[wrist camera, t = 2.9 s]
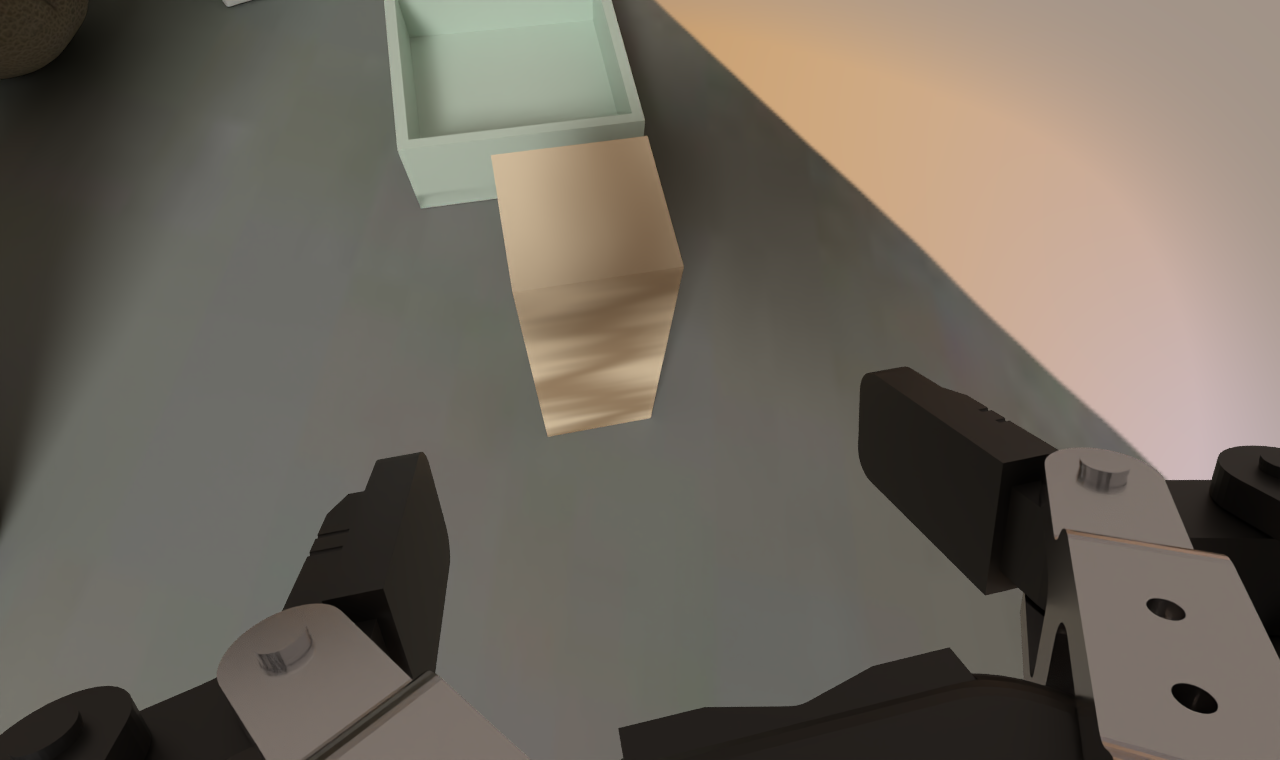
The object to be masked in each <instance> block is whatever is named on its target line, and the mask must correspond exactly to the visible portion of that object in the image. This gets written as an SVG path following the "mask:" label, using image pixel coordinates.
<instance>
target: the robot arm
mask: <svg viewBox="0 0 1280 760" xmlns="http://www.w3.org/2000/svg"><path fill="white" fill-rule="evenodd" d="M858 452H859V459H860V462H861V466H862V468H863V471H864V473H865V474H866V476H867V478H868V479H869V480H870V481H871V482H872V483H873V484H874V485H875V486H876V487H877V488H878V489H879V490H880V491H881V492H882V493H883V494H884V495H885V496H886V497H887V498H888V499H889V500H890V501H891V502H892V503H893V504H894V505H895V506H896V507H897V508H898V509H899V510H900V511H901V512H902V513H903V514H904V515H905V516H906V517H907V518H908V519H909V520H910V521H911V522H912V523H913V524H914V525H915V526H916V527H917V528H918V529H919V530H920V531H921V532H922V533H923V534H924V535H925V536H926V537H927V538H928V539H929V540H930V541H931V542H932V543H933V544H934V545H935V546H936V547H937V548H938V549H939V550H940V551H941V552H942V553H943V554H944V555H945V556H946V557H947V558H948V559H949V560H950V561H951V562H952V563H953V564H954V565H955V566H956V567H957V568H958V569H959V570H960V571H961V572H962V573H963V574H964V575H965V576H966V577H967V578H968V579H969V580H970V581H971V582H972V583H973V584H974V585H975V586H976V587H977V588H978V589H979V590H980V591H981V592H982V593H983V594H984V595H989V594H993V593H997V592H1002V591H1006V590H1010V589H1014V588H1019V589H1020V590H1021V591H1023V597H1022V603H1021V610H1020V617H1021V637H1022V656H1023V675H1024V680H1022V679H1017V678H1012V677H1006V676H1000V675H989V674H971V673H970V671H969V670H968V669H967V668H966V667H965V665H964V664H963V663H962V662H961V661H960V659H959V658H958V657H957V656H956V655H955V653H954V652H953V651H952V650H951V649H950V647H949V648H945V649H941V650H937V651H933V652H929V653H925V654H921V655H917V656H913V657H908V658H904V659H900V660H896V661H892V662H888V663H884V664H880V665H876V666H872V667H870V668H868V669H867V670H865V671H863V672H861V673H859V674H858V675H856V676H854V677H852V678H850V679H848V680H847V681H845V682H843V683H841V684H839V685H838V686H836V687H834V688H832V689H830V690H828V691H827V692H825V693H823V694H821V695H819V696H818V697H816V698H814V699H812V700H810V701H808V702H806V703H804V704H801V705H797V706H781V707H704V708H700V709H696V710H691V711H687V712H683V713H679V714H675V715H671V716H667V717H663V718H659V719H655V720H651V721H646V722H642V723H638V724H634V725H630V726H626V727H622V728H618V729H619V735H620V741H621V747H622V753H623V759H621V760H1280V448H1276V447H1267V446H1239V447H1233V448H1229V449H1227V450H1224V451H1223V452H1221V453H1220V454H1219V457H1218V459H1217V463H1216V467H1215V470H1214V473H1213V477H1212V480H1165V479H1164V478H1163V476H1162V475H1161V474H1160V473H1159V472H1158V471H1157V470H1156V469H1154V468H1153V467H1152V466H1150V465H1148V464H1146V463H1145V462H1143V461H1141V460H1138V459H1136V458H1133V457H1131V456H1128V455H1125V454H1121V453H1118V452H1114V451H1109V450H1103V449H1097V448H1068V449H1062V450H1058V449H1056V448H1054V447H1052V446H1051V445H1049V444H1047V443H1046V442H1044V441H1042V440H1041V439H1039V438H1037V437H1036V436H1034V435H1032V434H1031V433H1029V432H1027V431H1026V430H1024V429H1022V428H1021V427H1019V426H1017V425H1016V424H1014V423H1012V422H1011V421H1005V418H1004V417H1002V416H1001V415H999V414H997V413H996V412H994V411H992V410H990V411H988V408H987V407H986V406H984V405H982V404H981V403H979V402H977V401H976V400H974V399H972V398H971V397H969V396H967V395H965V394H961V393H958V392H955V391H952V390H949V389H946V388H942V387H940V386H939V385H937V384H936V383H934V382H932V381H931V380H929V379H927V378H926V377H924V376H922V375H921V374H919V373H918V372H916V371H914V370H913V369H911V368H909V367H899V368H893V369H888V370H882V371H877V372H871V373H867V374H865V375H864V377H863V378H862V381H861V385H860V407H859V437H858ZM449 566H450V548H449V539H448V533H447V529H446V525H445V521H444V517H443V513H442V510H441V506H440V502H439V499H438V495H437V491H436V488H435V484H434V480H433V476H432V473H431V469H430V466H429V462H428V460H427V457H426V455H425V454H424V453H423V452H419V453H413V454H408V455H402V456H396V457H391V458H385V459H380V460H377V461H376V463H375V466H374V468H373V471H372V473H371V476H370V478H369V481H368V484H367V486H366V489H365V491H362V492H357V493H352V494H348V495H347V496H346V497H345V498H344V499H343V500H342V501H341V502H340V503H338V504H337V505H336V506H335V507H334V508H333V509H332V510H331V511H330V512H329V513H328V514H327V516H326V518H325V520H324V522H323V524H322V526H321V528H320V531H319V533H318V539H315V541H314V544H313V546H312V548H311V550H310V556H308V557H307V559H306V561H305V563H304V565H303V567H302V569H301V571H300V574H299V576H298V578H297V580H296V582H295V584H294V587H293V589H292V591H291V593H290V595H289V597H288V599H287V602H286V604H285V606H284V608H283V610H282V611H281V612H279V613H276V614H274V615H272V616H270V617H268V618H266V619H264V620H262V621H261V622H259V623H258V624H256V625H254V626H253V627H252V628H250V629H249V630H248V631H246V632H245V633H244V634H242V635H241V636H240V637H239V638H238V639H237V640H236V641H235V642H234V643H233V644H232V645H231V646H230V647H229V649H228V650H227V651H226V653H225V654H224V656H223V657H222V659H221V661H220V663H219V666H218V670H217V677H216V678H215V679H213V680H211V681H208V682H206V683H204V684H202V685H200V686H198V687H195V688H193V689H190V690H188V691H186V692H183V693H181V694H179V695H176V696H174V697H172V698H169V699H167V700H165V701H162V702H160V703H158V704H155V705H153V706H151V707H148V708H146V709H144V710H141V711H139V710H138V708H137V706H136V705H135V703H134V701H133V700H132V698H131V696H130V694H129V693H128V692H127V691H126V690H124V689H122V688H119V687H114V686H101V687H94V688H89V689H85V690H82V691H78V692H75V693H72V694H70V695H67V696H65V697H62V698H60V699H58V700H55V701H53V702H51V703H49V704H47V705H45V706H43V707H42V708H40V709H38V710H36V711H34V712H33V713H31V714H29V715H28V716H26V717H25V718H23V719H22V720H20V721H19V722H17V723H16V724H14V725H13V726H12V727H10V728H9V729H7V730H6V731H5V732H4V733H3V734H1V735H0V760H531V759H530V758H529V757H527V756H526V755H525V754H524V753H523V752H522V751H521V750H520V749H519V748H518V747H516V746H515V745H514V744H513V743H512V742H511V741H510V740H509V739H508V738H507V737H506V736H504V735H503V734H502V733H501V732H500V731H499V730H498V729H497V728H496V727H495V726H493V725H492V724H491V723H490V722H489V721H488V720H487V719H486V718H485V717H484V716H483V715H481V714H480V713H479V712H478V711H477V710H476V709H475V708H474V707H473V706H472V705H470V704H469V703H468V702H467V701H466V700H465V699H464V698H463V697H462V696H461V695H460V694H458V693H457V692H456V691H455V690H454V689H453V688H452V687H451V686H450V685H449V684H447V683H446V682H445V681H444V680H443V679H442V678H441V677H440V676H438V675H437V674H435V669H436V662H437V654H438V647H439V640H440V632H441V625H442V617H443V610H444V603H445V595H446V588H447V580H448V573H449Z"/></svg>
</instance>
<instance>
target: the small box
mask: <svg viewBox="0 0 1280 760" xmlns="http://www.w3.org/2000/svg"><path fill="white" fill-rule="evenodd" d="M222 1H223V2H224V4H225V5H226V6H228V7H231V6H234V5H237V4H240V3H244V2H247V1H251V0H222Z"/></svg>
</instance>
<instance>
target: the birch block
mask: <svg viewBox="0 0 1280 760" xmlns="http://www.w3.org/2000/svg"><path fill="white" fill-rule="evenodd" d="M491 159H492V166H493V172H494V178H495V185H496V191H497V197H498V204H499V210H500V216H501V223H502V229H503V235H504V242H505V248H506V254H507V261H508V267H509V273H510V279H511V286H512V292H513V296H514V300H515V305H516V309H517V313H518V317H519V321H520V325H521V329H522V333H523V337H524V341H525V345H526V350H527V354H528V358H529V362H530V366H531V370H532V374H533V378H534V382H535V386H536V390H537V395H538V399H539V403H540V407H541V411H542V415H543V419H544V423H545V427H546V431H547V435H548V437H549V436H555V435H560V434H566V433H571V432H577V431H582V430H587V429H593V428H598V427H604V426H609V425H615V424H620V423H626V422H631V421H637V420H642V419H647V418H651V413H652V409H653V404H654V400H655V395H656V391H657V386H658V382H659V377H660V373H661V368H662V364H663V359H664V354H665V350H666V345H667V341H668V336H669V332H670V327H671V323H672V318H673V314H674V309H675V304H676V300H677V295H678V291H679V286H680V282H681V277H682V273H683V268H684V265H683V262H682V258H681V255H680V251H679V247H678V244H677V240H676V237H675V233H674V229H673V226H672V222H671V219H670V215H669V211H668V208H667V204H666V201H665V197H664V193H663V190H662V186H661V183H660V179H659V175H658V172H657V168H656V165H655V161H654V158H653V154H652V150H651V147H650V143H649V140H648V136H642V137H634V138H626V139H618V140H609V141H601V142H593V143H585V144H577V145H569V146H561V147H552V148H544V149H536V150H528V151H520V152H512V153H504V154H496V155H491Z"/></svg>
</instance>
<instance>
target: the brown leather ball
mask: <svg viewBox="0 0 1280 760" xmlns="http://www.w3.org/2000/svg"><path fill="white" fill-rule="evenodd" d="M87 9H88V0H0V79H7V78H12V77H17V76H21V75H25V74H28V73H31V72H34V71H36V70H38V69H40V68H42V67H44V66H45V65H47V64H48V63H50V62H51V61H52V60H54V59H55V58H56V57H58V55H59V54H60V53H61V52H62V51H63V50H64V49H65V47H66V46H67V45H68V43H69V42H70V41H71V39H72V38H73V36H74V35H75V34H76V32H77V31H78V29H79V28H80V26H81V24H82V23H83V21H84V19H85V16H86V14H87Z"/></svg>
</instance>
